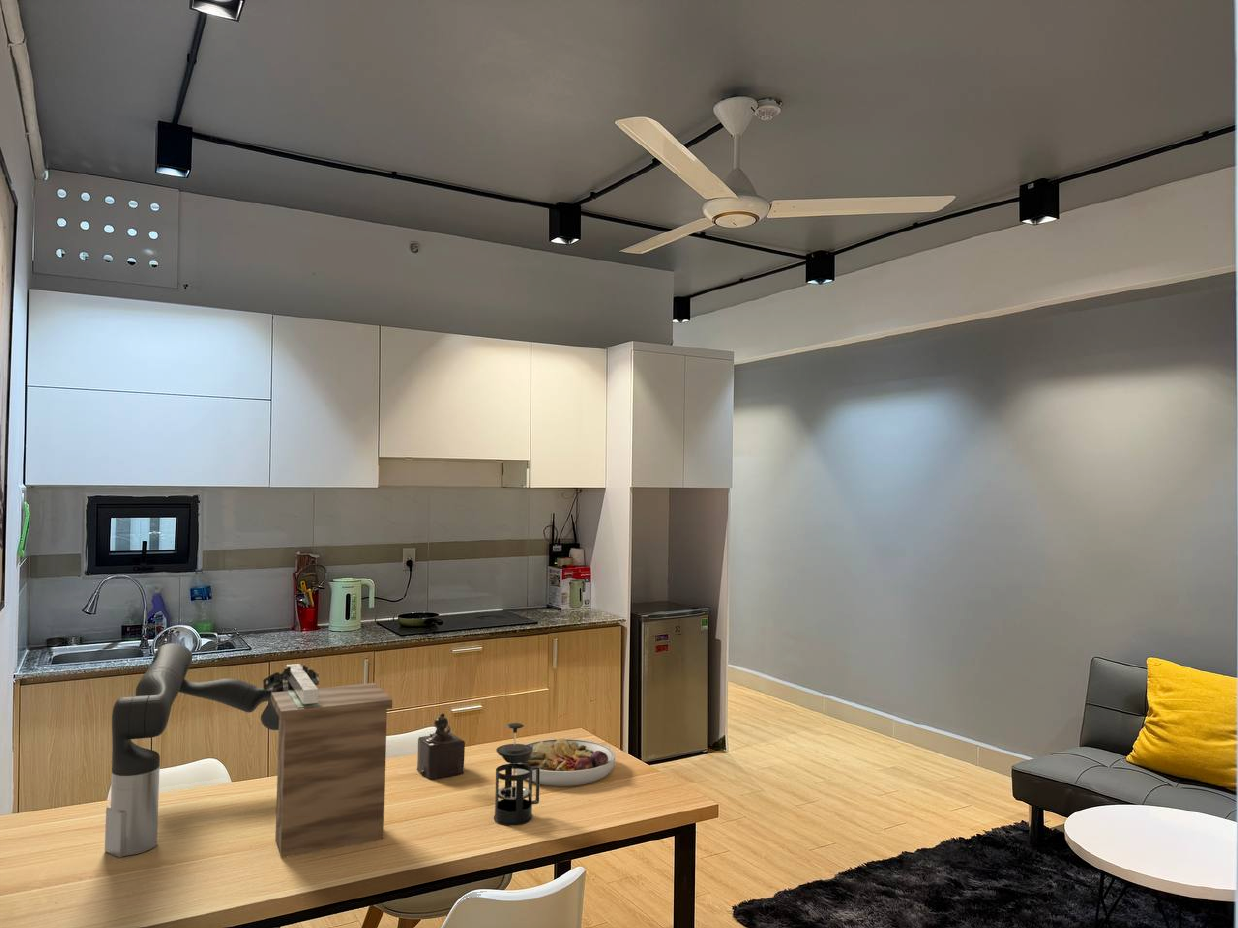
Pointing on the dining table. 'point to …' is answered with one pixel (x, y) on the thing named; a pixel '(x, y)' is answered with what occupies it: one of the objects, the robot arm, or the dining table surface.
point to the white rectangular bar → (302, 684)
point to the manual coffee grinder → (440, 752)
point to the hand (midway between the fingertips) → (296, 669)
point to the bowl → (569, 761)
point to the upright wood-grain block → (330, 768)
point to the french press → (514, 802)
